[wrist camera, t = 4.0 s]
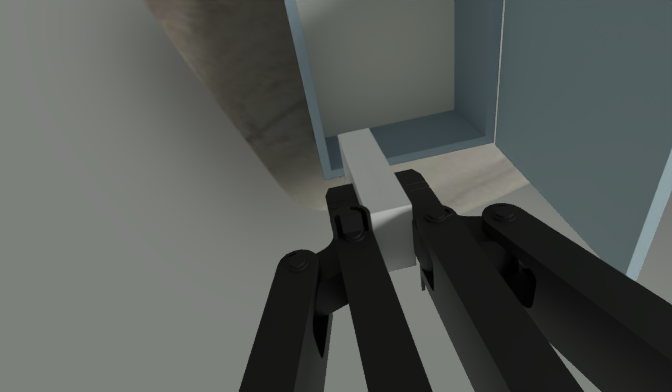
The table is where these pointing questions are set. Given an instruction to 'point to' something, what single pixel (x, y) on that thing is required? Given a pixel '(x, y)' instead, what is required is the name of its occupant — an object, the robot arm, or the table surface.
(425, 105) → the box
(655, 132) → the lid
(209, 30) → the table surface
